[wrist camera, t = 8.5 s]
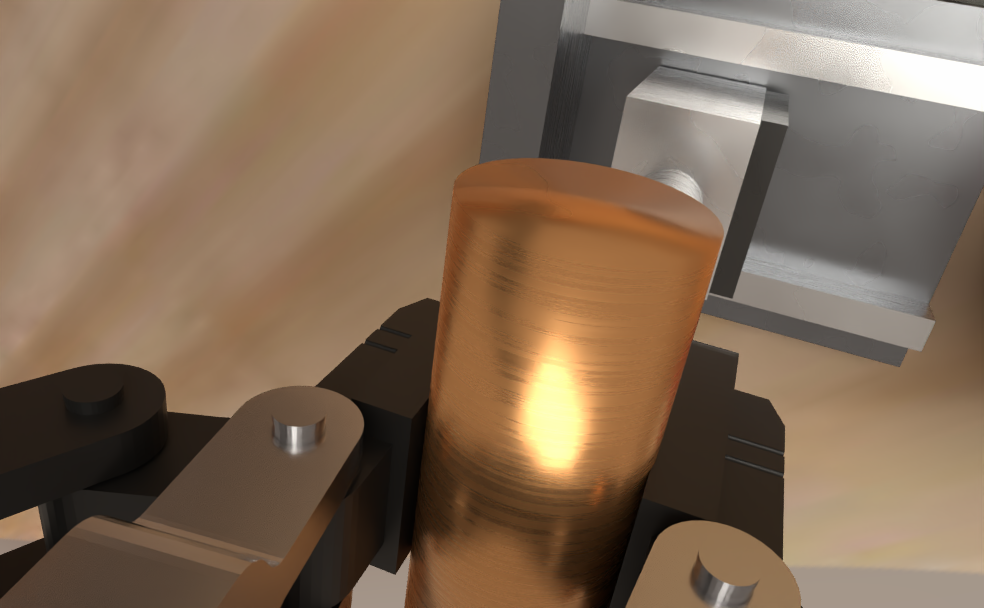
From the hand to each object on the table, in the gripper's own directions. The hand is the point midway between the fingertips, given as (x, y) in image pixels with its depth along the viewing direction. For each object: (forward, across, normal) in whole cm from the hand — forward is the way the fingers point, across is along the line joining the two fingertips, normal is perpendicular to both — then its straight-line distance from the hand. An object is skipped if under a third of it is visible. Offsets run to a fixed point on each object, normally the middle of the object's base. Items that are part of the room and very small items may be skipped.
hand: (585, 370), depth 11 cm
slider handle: (+13, 0, 0) cm, 13 cm away
